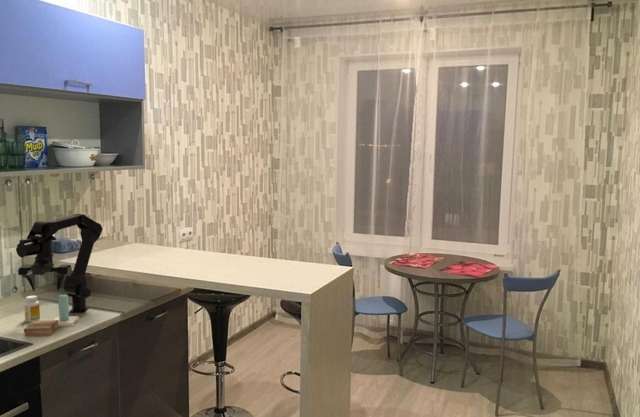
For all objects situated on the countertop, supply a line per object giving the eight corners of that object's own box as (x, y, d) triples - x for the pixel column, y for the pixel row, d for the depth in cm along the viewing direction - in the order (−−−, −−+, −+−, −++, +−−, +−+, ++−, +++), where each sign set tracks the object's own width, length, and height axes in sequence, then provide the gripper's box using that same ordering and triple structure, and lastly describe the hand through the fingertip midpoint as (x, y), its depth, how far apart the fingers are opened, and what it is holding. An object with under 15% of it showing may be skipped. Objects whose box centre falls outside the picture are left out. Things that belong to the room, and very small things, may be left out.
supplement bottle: (42, 317, 224) (41, 294, 222) (36, 321, 218) (34, 298, 217) (29, 317, 223) (28, 294, 222) (22, 321, 218) (21, 298, 217)
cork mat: (55, 319, 222) (55, 318, 222) (81, 318, 223) (81, 317, 223) (46, 327, 212) (46, 326, 212) (73, 326, 213) (73, 325, 213)
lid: (57, 318, 221) (55, 293, 220) (78, 317, 223) (77, 292, 221) (49, 325, 213) (47, 299, 212) (72, 324, 214) (70, 298, 213)
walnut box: (34, 328, 211) (33, 320, 211) (58, 327, 212) (58, 320, 212) (24, 336, 202) (23, 328, 202) (50, 335, 203) (49, 328, 203)
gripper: (10, 257, 206) (13, 296, 208) (61, 256, 208) (63, 295, 210) (22, 251, 217) (25, 289, 219) (71, 250, 219) (73, 288, 221)
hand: (46, 290), depth 217 cm, fingers open, 9 cm apart
